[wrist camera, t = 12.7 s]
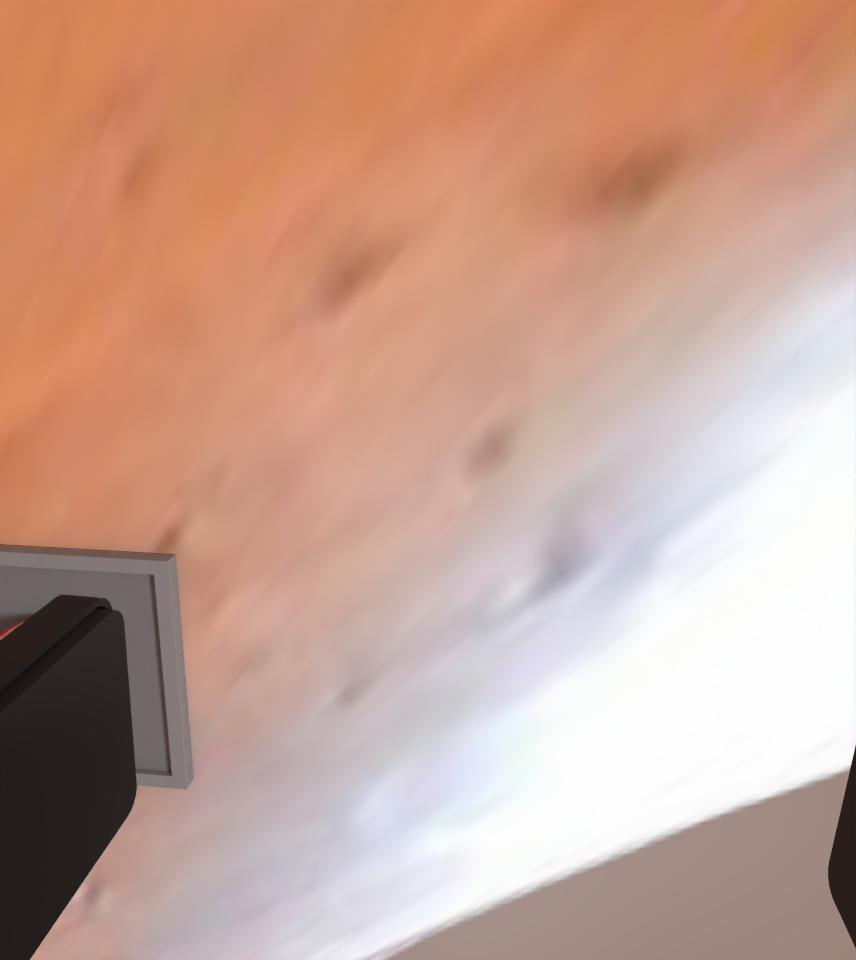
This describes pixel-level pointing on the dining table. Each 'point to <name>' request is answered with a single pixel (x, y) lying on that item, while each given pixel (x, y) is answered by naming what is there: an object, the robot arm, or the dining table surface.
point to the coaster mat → (148, 631)
